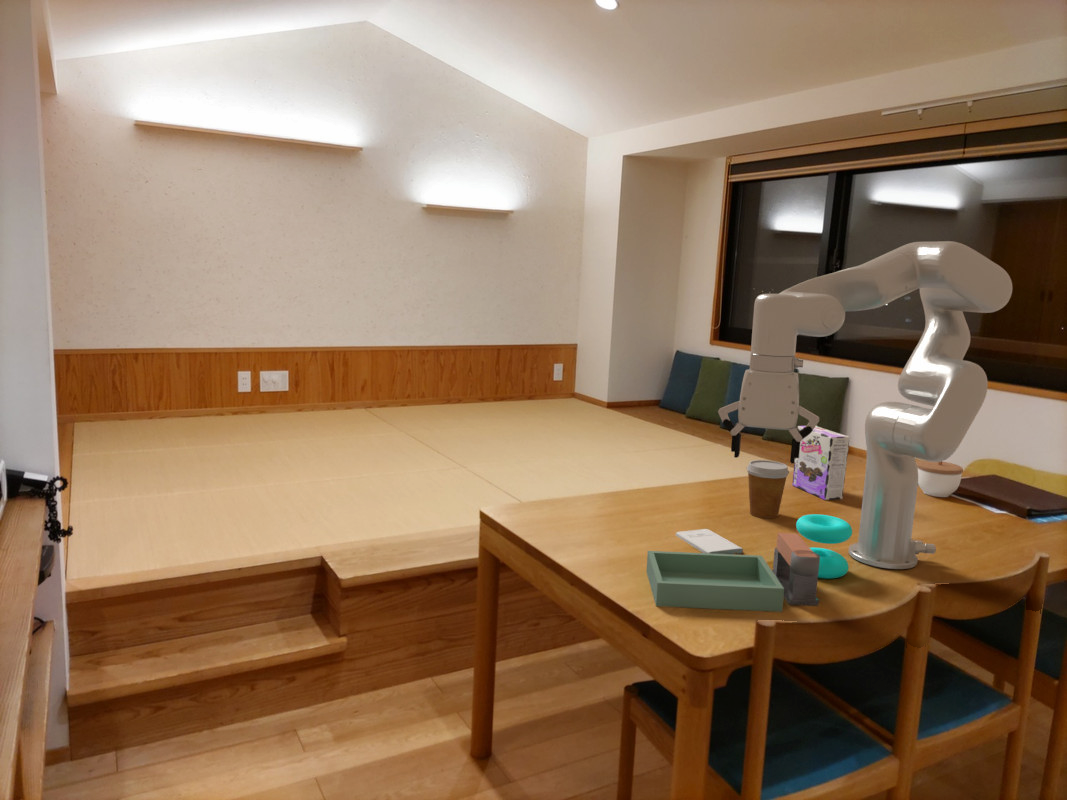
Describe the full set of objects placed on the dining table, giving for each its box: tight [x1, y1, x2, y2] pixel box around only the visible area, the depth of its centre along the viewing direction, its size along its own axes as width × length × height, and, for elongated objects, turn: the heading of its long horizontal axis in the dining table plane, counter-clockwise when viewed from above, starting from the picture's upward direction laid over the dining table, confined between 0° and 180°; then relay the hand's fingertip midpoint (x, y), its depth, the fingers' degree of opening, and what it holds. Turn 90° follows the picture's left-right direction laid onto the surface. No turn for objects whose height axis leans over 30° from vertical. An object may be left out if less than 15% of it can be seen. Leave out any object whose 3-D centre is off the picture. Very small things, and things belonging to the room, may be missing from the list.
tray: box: [646, 550, 784, 613], centre depth 138 cm, size 21×15×4 cm
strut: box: [775, 532, 820, 577], centre depth 138 cm, size 13×5×3 cm, turn 178°
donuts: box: [795, 513, 853, 580], centre depth 148 cm, size 10×10×10 cm
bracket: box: [771, 547, 820, 607], centre depth 139 cm, size 13×5×6 cm, turn 178°
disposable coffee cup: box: [746, 459, 790, 519], centre depth 182 cm, size 10×10×12 cm
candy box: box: [791, 425, 851, 501], centre depth 202 cm, size 14×6×16 cm, turn 17°
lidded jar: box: [916, 460, 964, 498], centre depth 204 cm, size 11×11×9 cm
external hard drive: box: [675, 528, 744, 555], centre depth 162 cm, size 2×8×12 cm
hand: (764, 458), depth 140 cm, fingers open, 9 cm apart
